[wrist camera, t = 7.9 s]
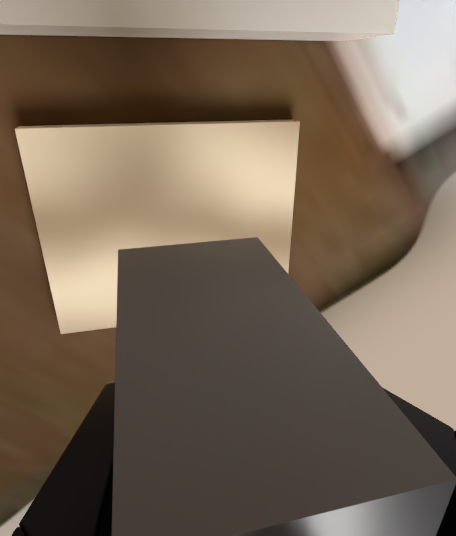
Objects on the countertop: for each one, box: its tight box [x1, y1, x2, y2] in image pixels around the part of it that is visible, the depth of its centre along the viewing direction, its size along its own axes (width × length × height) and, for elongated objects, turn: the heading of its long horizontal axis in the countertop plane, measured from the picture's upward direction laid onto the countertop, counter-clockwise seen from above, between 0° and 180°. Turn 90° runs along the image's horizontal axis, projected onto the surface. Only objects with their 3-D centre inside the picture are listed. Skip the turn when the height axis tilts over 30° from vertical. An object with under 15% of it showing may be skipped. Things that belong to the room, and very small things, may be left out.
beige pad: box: [15, 119, 300, 334], centre depth 18 cm, size 9×11×1 cm
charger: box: [112, 237, 456, 536], centre depth 8 cm, size 4×4×10 cm
